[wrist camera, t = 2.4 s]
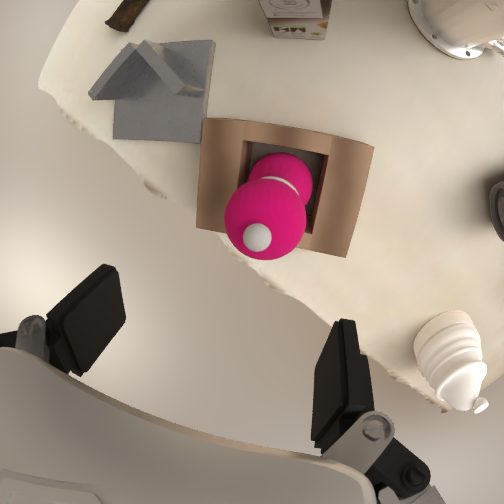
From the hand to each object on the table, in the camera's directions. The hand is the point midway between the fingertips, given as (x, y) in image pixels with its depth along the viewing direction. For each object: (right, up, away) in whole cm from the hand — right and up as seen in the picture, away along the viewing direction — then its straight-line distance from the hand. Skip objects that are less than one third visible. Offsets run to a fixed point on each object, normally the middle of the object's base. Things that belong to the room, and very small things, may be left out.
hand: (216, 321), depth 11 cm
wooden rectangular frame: (+5, +12, +23) cm, 27 cm away
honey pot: (+37, -13, +29) cm, 49 cm away
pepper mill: (+5, +12, +23) cm, 27 cm away
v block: (-11, +25, +20) cm, 34 cm away
